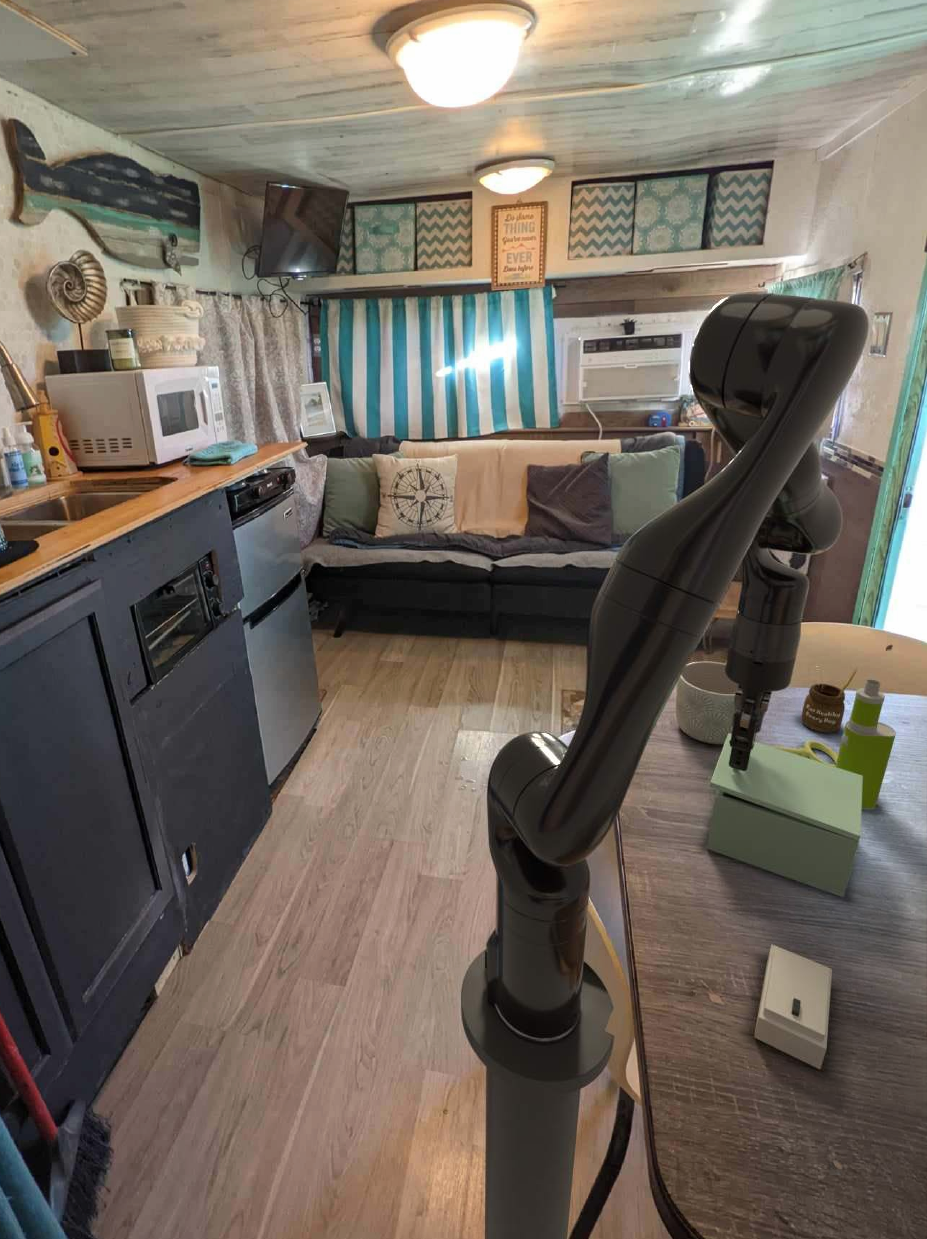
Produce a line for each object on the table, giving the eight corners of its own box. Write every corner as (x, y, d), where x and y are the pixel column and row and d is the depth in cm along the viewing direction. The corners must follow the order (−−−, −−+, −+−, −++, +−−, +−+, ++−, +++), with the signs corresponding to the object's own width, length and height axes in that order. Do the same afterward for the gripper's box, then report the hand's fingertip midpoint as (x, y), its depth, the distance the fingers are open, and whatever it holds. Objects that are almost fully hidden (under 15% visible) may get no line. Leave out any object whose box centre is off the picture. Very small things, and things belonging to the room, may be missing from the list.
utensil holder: (802, 712, 118) (814, 654, 114) (843, 722, 114) (857, 662, 110) (798, 727, 114) (810, 667, 109) (840, 738, 110) (855, 676, 106)
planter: (746, 759, 106) (756, 702, 102) (666, 740, 112) (673, 685, 108) (751, 723, 116) (761, 669, 112) (677, 707, 122) (684, 655, 118)
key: (753, 754, 107) (755, 743, 106) (819, 745, 109) (822, 734, 108) (784, 780, 100) (787, 769, 100) (854, 770, 102) (857, 759, 101)
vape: (823, 790, 98) (850, 675, 91) (867, 794, 97) (899, 677, 89) (834, 806, 94) (863, 688, 87) (880, 810, 93) (913, 690, 86)
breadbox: (706, 848, 88) (715, 796, 85) (724, 794, 98) (732, 746, 95) (843, 897, 79) (858, 841, 76) (847, 832, 90) (861, 780, 86)
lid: (709, 786, 85) (717, 755, 83) (727, 737, 95) (735, 708, 93) (858, 841, 76) (872, 808, 74) (861, 780, 86) (872, 749, 84)
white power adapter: (820, 1070, 61) (829, 1038, 59) (753, 1037, 64) (761, 1006, 63) (826, 988, 69) (835, 958, 67) (767, 963, 72) (773, 933, 70)
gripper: (738, 621, 89) (720, 725, 95) (720, 661, 78) (700, 775, 85) (801, 632, 85) (778, 740, 91) (791, 676, 74) (765, 795, 81)
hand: (741, 756), depth 88 cm, fingers closed on lid, 5 cm apart
